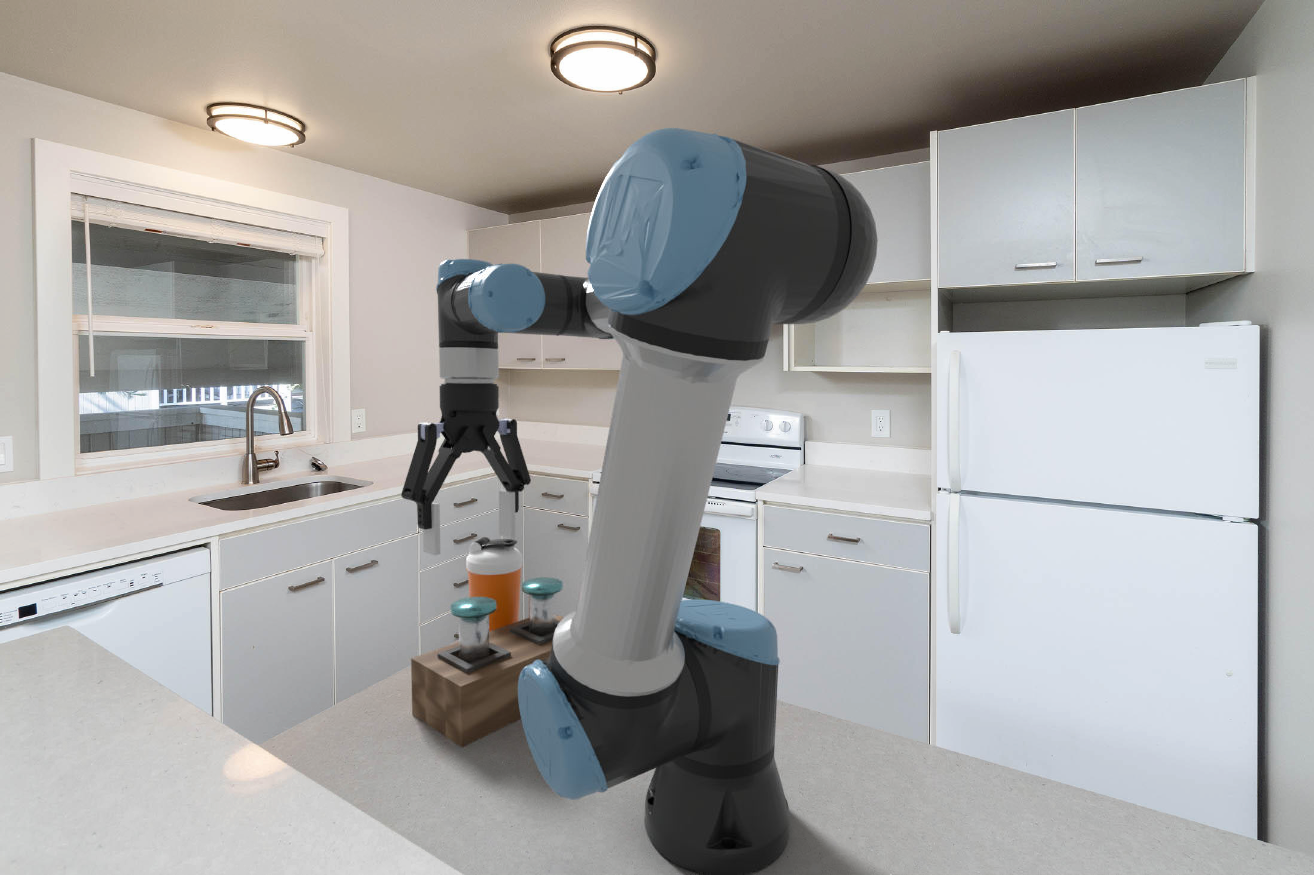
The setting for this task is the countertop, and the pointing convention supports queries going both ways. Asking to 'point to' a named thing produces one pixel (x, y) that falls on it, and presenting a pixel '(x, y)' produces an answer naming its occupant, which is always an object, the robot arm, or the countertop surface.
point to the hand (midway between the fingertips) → (471, 544)
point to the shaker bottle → (496, 577)
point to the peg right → (542, 604)
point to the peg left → (473, 626)
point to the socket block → (475, 683)
